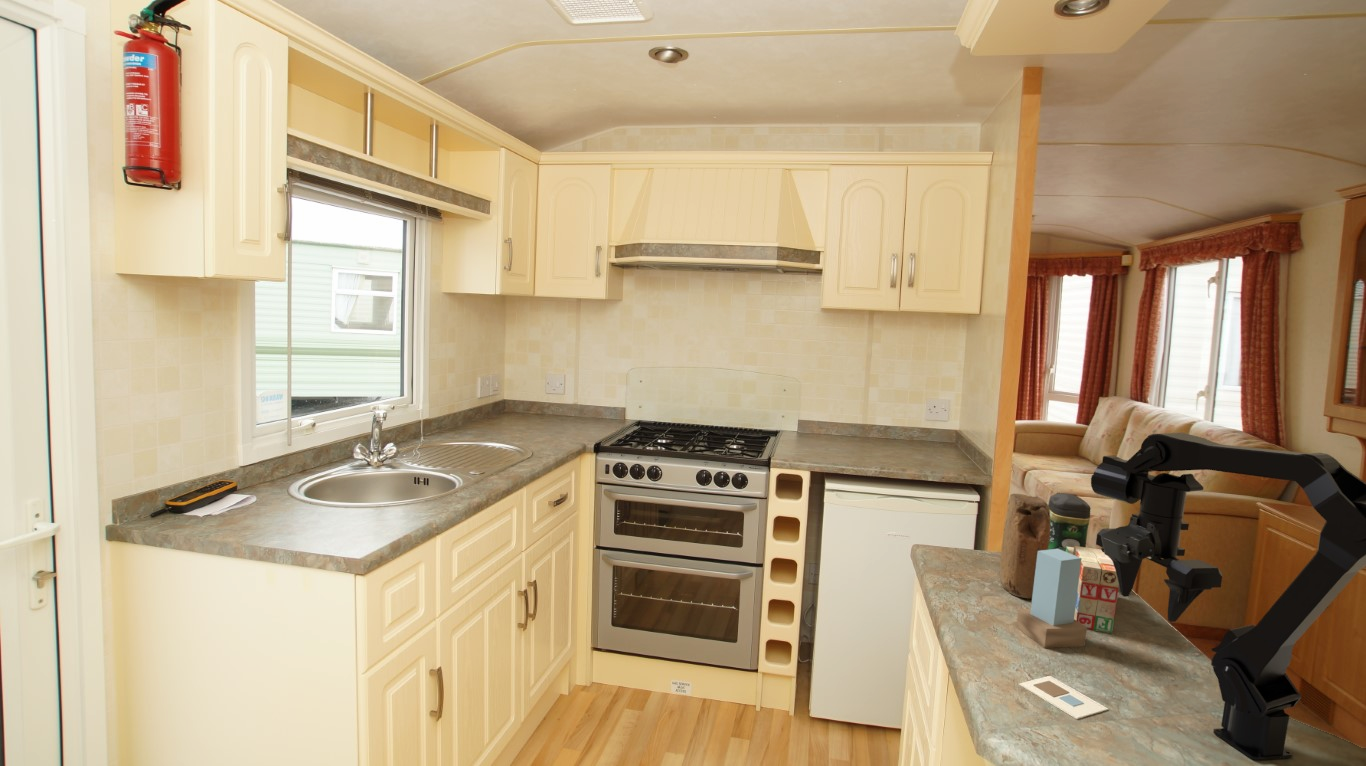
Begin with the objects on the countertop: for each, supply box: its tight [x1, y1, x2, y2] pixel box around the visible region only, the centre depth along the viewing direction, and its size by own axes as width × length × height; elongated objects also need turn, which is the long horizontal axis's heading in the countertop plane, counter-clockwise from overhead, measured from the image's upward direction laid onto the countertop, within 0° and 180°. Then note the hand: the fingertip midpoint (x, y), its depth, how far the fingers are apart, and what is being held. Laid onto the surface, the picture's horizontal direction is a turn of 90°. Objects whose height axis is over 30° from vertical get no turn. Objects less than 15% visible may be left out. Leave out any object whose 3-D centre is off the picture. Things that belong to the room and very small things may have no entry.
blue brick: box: [1030, 549, 1082, 626], centre depth 132 cm, size 5×5×12 cm
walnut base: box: [1015, 608, 1088, 649], centre depth 133 cm, size 8×8×4 cm
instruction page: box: [1019, 675, 1109, 720], centre depth 112 cm, size 10×7×1 cm
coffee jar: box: [1047, 492, 1092, 552], centre depth 162 cm, size 10×8×19 cm
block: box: [999, 493, 1051, 599], centre depth 153 cm, size 11×8×20 cm
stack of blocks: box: [1066, 546, 1120, 634], centre depth 146 cm, size 21×6×12 cm, turn 159°
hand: (1147, 608), depth 115 cm, fingers open, 9 cm apart
